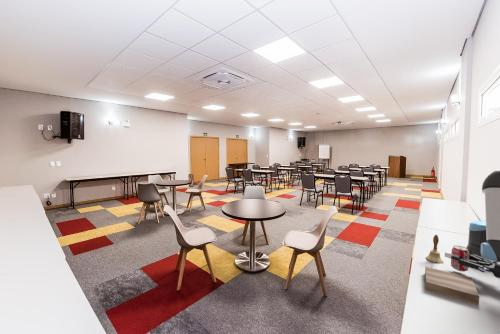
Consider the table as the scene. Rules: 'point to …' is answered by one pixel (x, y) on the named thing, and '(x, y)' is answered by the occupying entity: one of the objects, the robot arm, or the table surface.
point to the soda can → (464, 254)
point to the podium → (451, 285)
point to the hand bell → (435, 252)
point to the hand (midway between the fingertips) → (449, 252)
